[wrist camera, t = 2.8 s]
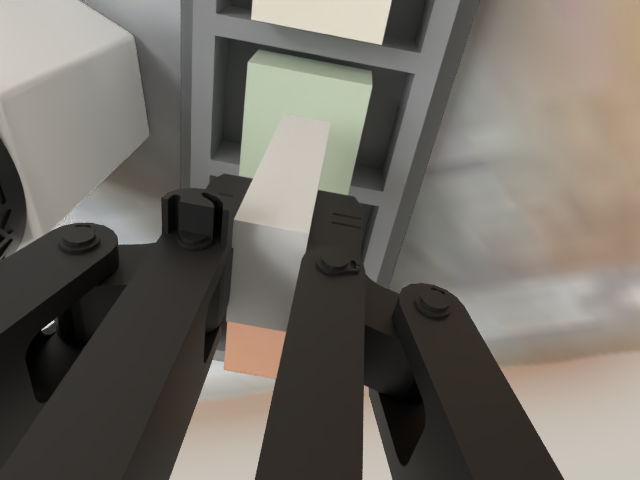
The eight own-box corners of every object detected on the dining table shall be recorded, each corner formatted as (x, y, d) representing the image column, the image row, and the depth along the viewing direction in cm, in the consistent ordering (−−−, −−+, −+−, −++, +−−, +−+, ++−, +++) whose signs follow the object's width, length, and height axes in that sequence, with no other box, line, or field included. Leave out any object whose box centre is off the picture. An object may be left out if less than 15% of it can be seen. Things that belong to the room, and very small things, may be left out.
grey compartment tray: (188, 307, 29) (167, 351, 26) (195, -192, 16) (157, -220, 13) (365, 339, 29) (365, 386, 26) (509, -128, 16) (541, -140, 13)
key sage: (249, 154, 20) (238, 175, 18) (258, 49, 17) (247, 61, 16) (349, 173, 20) (347, 195, 18) (371, 71, 17) (372, 85, 16)
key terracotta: (232, 341, 26) (223, 369, 24) (238, 281, 23) (228, 308, 22) (309, 354, 26) (305, 384, 24) (322, 296, 23) (318, 324, 22)
